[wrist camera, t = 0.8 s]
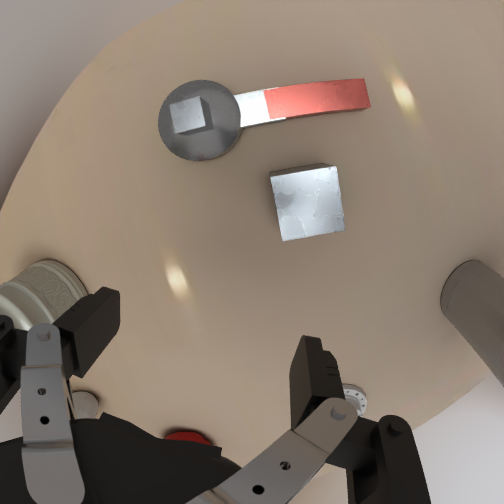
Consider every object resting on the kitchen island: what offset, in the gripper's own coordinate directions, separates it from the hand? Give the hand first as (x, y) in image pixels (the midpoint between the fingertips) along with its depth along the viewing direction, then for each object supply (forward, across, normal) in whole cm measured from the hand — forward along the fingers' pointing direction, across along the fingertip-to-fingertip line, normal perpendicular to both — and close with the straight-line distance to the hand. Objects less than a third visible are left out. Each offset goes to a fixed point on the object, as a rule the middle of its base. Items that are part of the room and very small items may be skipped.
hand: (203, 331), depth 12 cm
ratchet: (+21, +1, -12) cm, 24 cm away
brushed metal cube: (+21, -5, -4) cm, 22 cm away
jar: (+21, +25, +17) cm, 36 cm away
